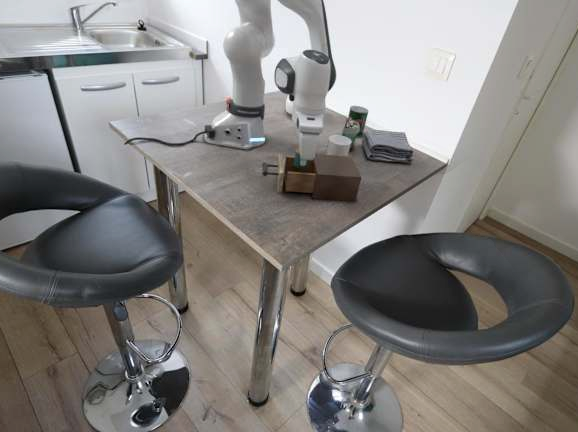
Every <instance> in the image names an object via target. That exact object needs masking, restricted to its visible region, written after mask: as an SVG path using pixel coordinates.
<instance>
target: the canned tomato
mask: <svg viewBox="0 0 578 432" xmlns="http://www.w3.org/2000/svg"><path fill="white" fill-rule="evenodd" d="M368 114H369V110H368V108H366V107H364V106H359V105H351V106H350V107H349V112H348V116H347V118H348V119H352V120H354V121H356V122H358V123H359V126H360V132H359V133H357V136H356V138H361V137H364V132H365V127H366V123H367V119H368Z"/></svg>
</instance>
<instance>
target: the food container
mask: <svg viewBox="0 0 578 432" xmlns="http://www.w3.org/2000/svg"><path fill="white" fill-rule="evenodd" d="M359 132H360V126H359V123H358V122H356V121H354V120H352V119H348V117H346V120H345V124H344V127H343V128H342V133H341V136H345V137H347V138H349V139H350V140H351V146H350V149H349V152H351V151H353V149H354V145H355V142H356V139H357V137H356V136H357V133H359Z"/></svg>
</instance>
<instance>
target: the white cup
mask: <svg viewBox="0 0 578 432" xmlns="http://www.w3.org/2000/svg"><path fill="white" fill-rule="evenodd" d="M350 146H351V140H350V139H349V138H347V137H345V136H342V134H341V135H340V134H333V135H329V136H328V142H327V148H326V155H336V156H347V157H349V153H350V151H349V149H350Z"/></svg>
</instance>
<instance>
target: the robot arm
mask: <svg viewBox="0 0 578 432" xmlns="http://www.w3.org/2000/svg"><path fill="white" fill-rule="evenodd" d="M277 1H278V3H280V4H281V5H282V6H284V7H285V8H286V9H288V10H290V11H291V12H294V13H295V14H297V15H298V16H299V17H300V18H302V19H303V21H304V23H305V24H306V26H307V29H308V36H309V42H310V48H311V49H305V50H303V51H301V53H299V54H298V55H295V56H291V57H284V58H281V59H280V60H279V61H278V63H277V64H276V66H275V68H274V77H273V78H274V84H275V86H276V88H277V89H278V90H279V92H281V93H282V94H285V95H290V94H291V95H293V96H294V98H295V99H294V103H293V112H292V116H291V121H292V122H293V123H294V125H295V136H296V140H297V141H296V142H297V146H298V147H299V152H300V157H301V158H300V165H303V166H305V165H306V162H307V160H313V159H314V157H315V154H317V150H318V146H319V141H320V134H323V131H324V119H325V112H326V97H327V95H328V93H329V92H330V91H331V90H332V89H333V87H334V85H335V83H336V81H337V69H336V66H335V62H334V58H333V55H332V47H331V39H330V34H329V33H330V32H329V25H328V19H327V12H326V6H325V1H324V0H277ZM234 2H235V4H236V6H237V9H238V14H239V20H240V26H236V27H234V28H233V29H231V30H230V31H229V32H228V33H227V34H226V35H225V36H224V39H223V42H222V49H223V53H224V54H225V57H226V58H227V59H228V62H229V66H230V71H231V76H232V97H227V98H226V100H225V101H226V110H224V111H222V112H221V113H219V114H217V115H216V116H214V118H213V119H212V122H211V124H207V125H205V124H204V131H200V132H198V133H196V134H195V135H194V137H193V138H192V139H191V140H189V141H186V142H178V143H177V142H176V143H175V142H174V143H173V142H167V141H164V140H161V139H159V138H153V137H142V136H141V137H140V136H139V137H132V138H130V139H128V140H126V141H125V142H124V143H123V145H124V146H125V145H128V144H129V143H131V142H133V141H136V140H137V141H138V140H139V141H142V140H143V141H155V142H158V143H161V144H164V145H166V146H184V145H187V144H190V143H191V144H192V143H193V142H195V141H196V139H198V137H199V136H201V135H203V134H204V141H205V142H206V143H207V144H211V145H216V146H223V147H227V148H228V147H229V148H234V149H241V150H250V149H252V148H255V147H259V146H261V145H264V144H265V142H266V137H265V130H264V119H265V111H266V107H265V105H266V104H265V90H266V89H265V88H266V79H264V76H263V69H262V60H263V59H265V58H266V57H268V56H269V55H270V54H271V52H272V51H273V50H274V48H275V44H276V36H275V33H274V29H273V18H272V17H273V16H272V0H234Z"/></svg>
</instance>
